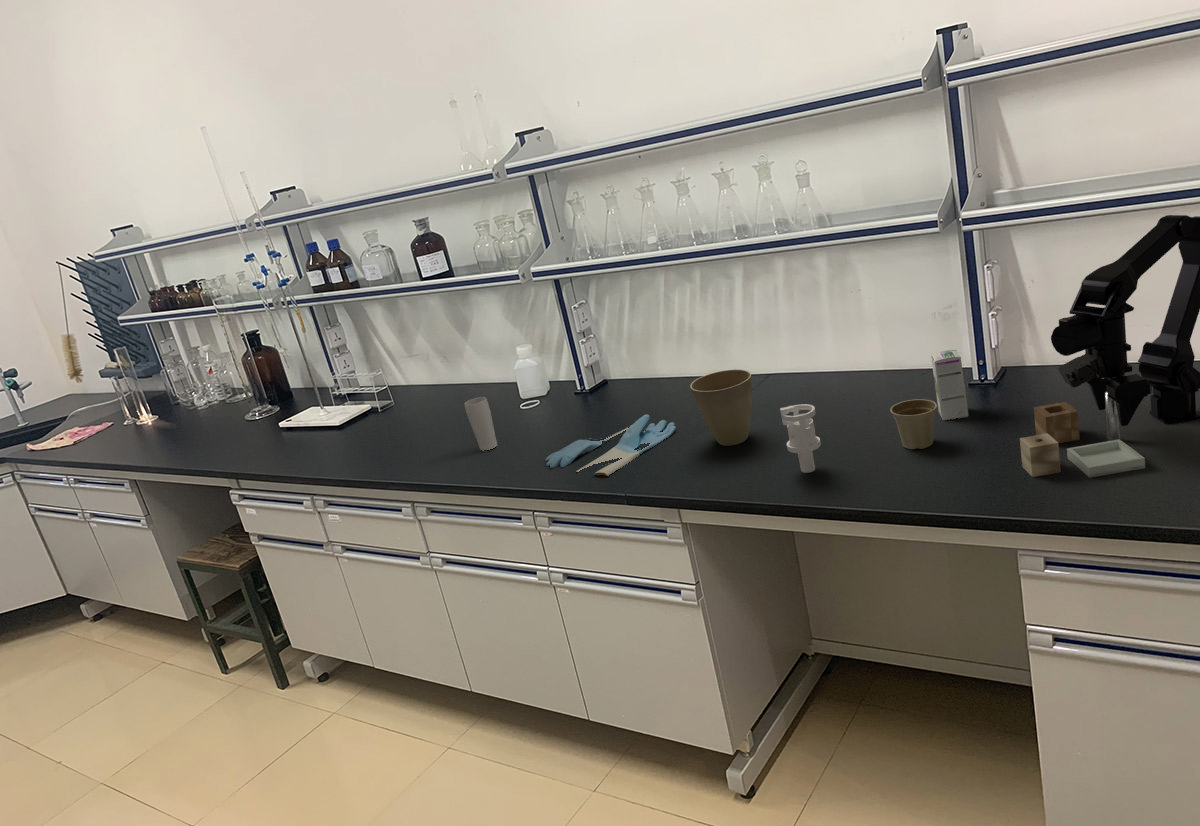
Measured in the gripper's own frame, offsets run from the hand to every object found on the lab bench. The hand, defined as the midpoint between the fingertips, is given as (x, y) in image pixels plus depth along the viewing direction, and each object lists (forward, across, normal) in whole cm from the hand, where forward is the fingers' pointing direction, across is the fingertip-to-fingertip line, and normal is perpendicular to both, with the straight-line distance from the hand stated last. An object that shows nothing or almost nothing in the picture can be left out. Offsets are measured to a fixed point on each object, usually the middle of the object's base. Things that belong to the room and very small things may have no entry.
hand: (1112, 417), depth 166 cm
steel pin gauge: (+5, 0, 0) cm, 5 cm away
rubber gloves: (+5, -50, -104) cm, 116 cm away
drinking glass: (+5, -68, -142) cm, 158 cm away
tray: (+5, +9, -6) cm, 12 cm away
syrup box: (+5, -28, -22) cm, 36 cm away
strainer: (+5, -12, -57) cm, 59 cm away
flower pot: (+5, -15, -33) cm, 37 cm away
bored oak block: (+5, -6, -8) cm, 11 cm away
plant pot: (+5, -38, -72) cm, 82 cm away
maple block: (+5, +7, -16) cm, 18 cm away
